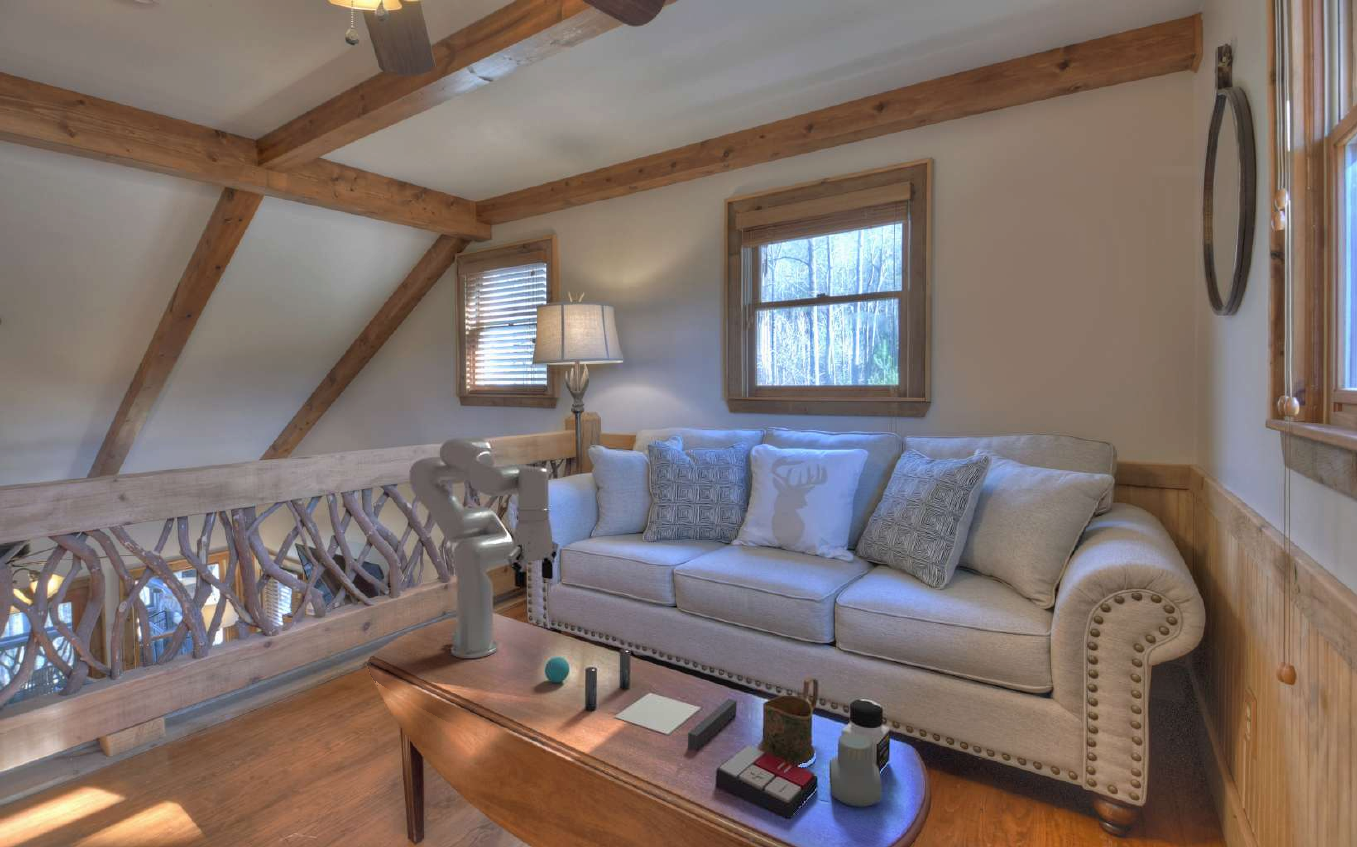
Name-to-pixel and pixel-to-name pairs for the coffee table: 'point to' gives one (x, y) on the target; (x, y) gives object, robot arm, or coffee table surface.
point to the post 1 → (590, 689)
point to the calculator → (766, 781)
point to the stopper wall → (711, 724)
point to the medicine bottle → (870, 728)
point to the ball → (557, 669)
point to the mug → (789, 726)
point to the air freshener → (855, 772)
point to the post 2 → (625, 669)
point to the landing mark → (658, 713)
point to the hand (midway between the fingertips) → (534, 582)
